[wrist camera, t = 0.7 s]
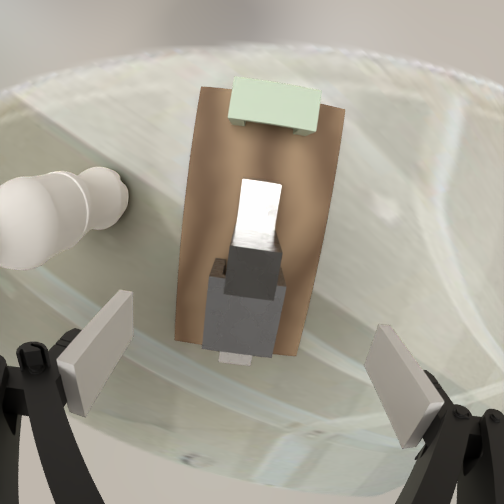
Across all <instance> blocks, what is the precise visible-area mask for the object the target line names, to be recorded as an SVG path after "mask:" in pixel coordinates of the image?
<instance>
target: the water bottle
mask: <svg viewBox="0 0 504 504" xmlns="http://www.w3.org/2000/svg"><path fill="white" fill-rule="evenodd" d="M120 178H121V177H120V176H119V174H118V173H117V172H115V171H114V170H111V169H109V168H105V167H92V168H89V169H87V170H85V171H83V172H82V173H80V174H79V175H78V176H77V175H75V174H73V173H70V172H66V171H56V172H50V173H48V174H45V175H38V176H31V177H25V176H22V177H17V178H14V179H11V180H9V181H7V182H5V183H4V184H2V185H1V186H0V266H1V267H4V268H8V269H14V270H28V269H33V268H36V267H38V266H41V265H43V264H44V263H45V262H47V261H48V260H49V259H50V258H51V257H53V256H55V255H57V254H58V253H60V252H62V251H64V250H67V249H70V248H71V247H73V246H74V245H75V244H76V243H77V242H78V241H79V240H80V239H81V238H82V237H83V236H84V235H85V234H86V233H87V232H88V231H89V230H91V229H96V230H101V229H106V228H109V227H110V226H112V225H113V224H115V223H116V222H117V221H118V220H119V218H120V217H121V215H122V214H123V213H124V211H125V210H126V208H127V205H128V198H129V195H128V189H127V187H126V185H125V184H123V183H122V181H121V180H120Z"/></svg>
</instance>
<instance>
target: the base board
mask: <svg viewBox="0 0 504 504" xmlns="http://www.w3.org/2000/svg"><path fill="white" fill-rule="evenodd" d="M231 93H232V89H223V88H213V87H201V90H200V96H199V102H198V108H197V114H196V121H195V127H194V134H193V141H192V148H191V155H190V163H189V171H188V179H187V187H186V196H185V205H184V214H183V224H182V234H181V246H180V257H179V270H178V285H177V300H176V319H175V340H176V341H182V342H188V343H194V344H201V345H202V342H203V331H204V320H205V310H206V300H207V290H208V280H209V275H210V272H211V269H212V266H213V264H214V261H215V258H221V259H226V263H225V271H224V275H226V270H227V262H228V254H229V247H230V242H231V238H232V235H233V231H234V227H235V224H236V223H237V216H238V208H239V201H240V194H241V188H242V181H243V177H248V178H255V179H262V180H269V181H275V182H279V183H280V184H282V187H281V193H280V199H279V205H278V211H277V218H276V224H275V230H276V233H277V236H278V239H279V242H280V246H281V249H282V252H283V255H282V260H281V266H280V267H282V271H283V275H284V279H285V283H286V292H285V297H284V302H283V307H282V312H281V316H280V321H279V326H278V331H277V335H276V340H275V345H274V349H273V354H278V355H288V356H296V354H297V350H298V347H299V343H300V339H301V335H302V331H303V327H304V323H305V319H306V315H307V311H308V306H309V302H310V298H311V294H312V289H313V285H314V280H315V276H316V271H317V267H318V262H319V258H320V253H321V248H322V243H323V238H324V233H325V228H326V223H327V218H328V213H329V208H330V202H331V197H332V191H333V185H334V180H335V174H336V168H337V162H338V156H339V149H340V143H341V136H342V130H343V123H344V115H345V109H341V108H337V107H333V106H328V105H324V104H320V108H319V115H318V122H317V129H316V132H314V133H312V134H309V135H307V136H302V135H296V134H293V128H287V127H281V126H275V125H269V124H262V123H255V122H248V121H246V122H245V126H238V125H232V124H231V122H230V121H229V119H228V112H229V106H230V100H231Z"/></svg>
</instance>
